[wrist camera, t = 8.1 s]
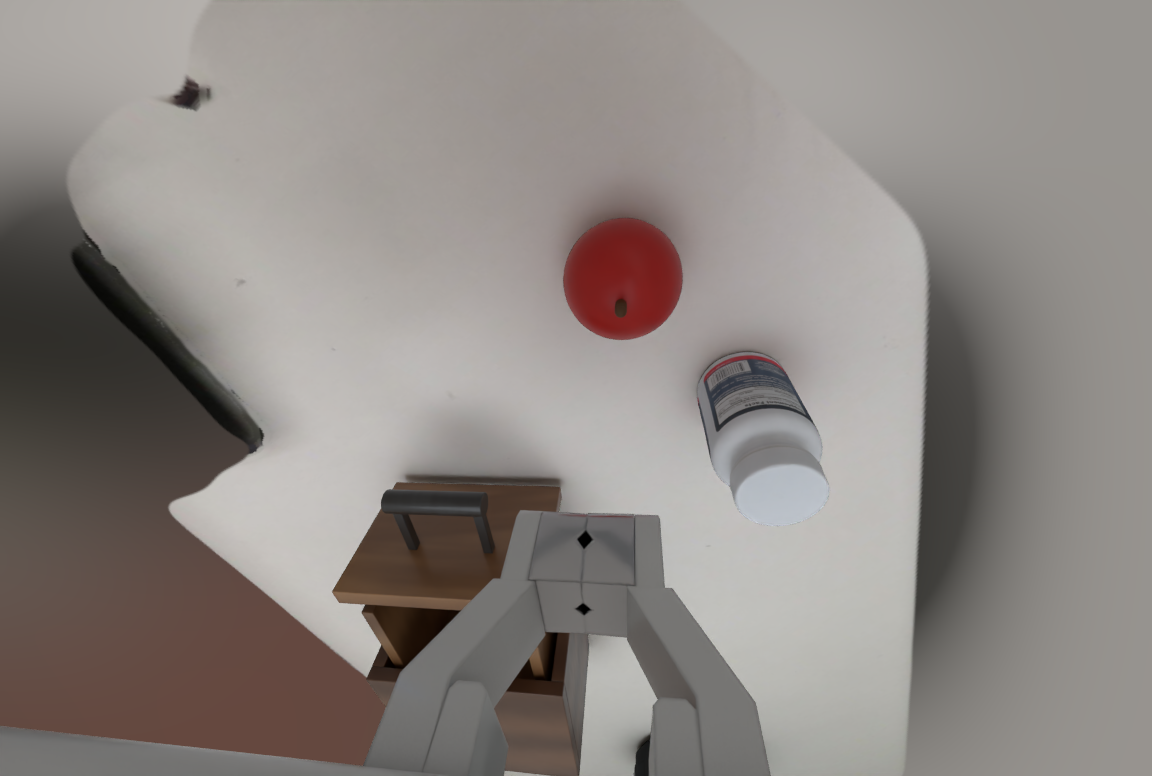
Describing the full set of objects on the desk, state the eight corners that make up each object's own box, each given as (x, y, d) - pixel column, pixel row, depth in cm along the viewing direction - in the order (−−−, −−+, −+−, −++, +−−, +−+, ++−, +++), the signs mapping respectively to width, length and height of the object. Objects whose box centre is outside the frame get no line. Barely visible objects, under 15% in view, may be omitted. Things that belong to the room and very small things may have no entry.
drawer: (375, 432, 31) (296, 539, 24) (553, 433, 29) (527, 549, 22) (442, 592, 42) (402, 699, 34) (575, 599, 40) (562, 714, 33)
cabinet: (425, 546, 40) (365, 679, 31) (578, 553, 38) (562, 696, 29) (463, 638, 48) (425, 762, 40) (589, 647, 47) (579, 778, 38)
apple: (566, 208, 22) (545, 248, 17) (680, 202, 22) (696, 241, 16) (574, 311, 25) (559, 372, 20) (674, 309, 25) (686, 372, 19)
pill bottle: (768, 427, 28) (815, 545, 21) (687, 414, 29) (705, 527, 21) (800, 356, 25) (869, 464, 18) (710, 342, 26) (741, 445, 18)
